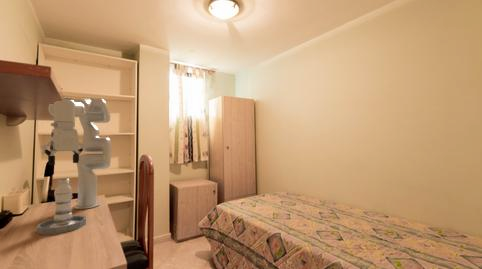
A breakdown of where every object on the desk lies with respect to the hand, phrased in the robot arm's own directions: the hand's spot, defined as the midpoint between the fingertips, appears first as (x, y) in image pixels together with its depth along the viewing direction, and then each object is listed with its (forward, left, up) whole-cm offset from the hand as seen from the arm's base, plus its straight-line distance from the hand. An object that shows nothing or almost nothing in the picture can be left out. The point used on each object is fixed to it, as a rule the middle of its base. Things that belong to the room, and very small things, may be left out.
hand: (64, 163), depth 104 cm
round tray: (0, 0, -28) cm, 28 cm away
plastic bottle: (0, 0, -27) cm, 27 cm away
